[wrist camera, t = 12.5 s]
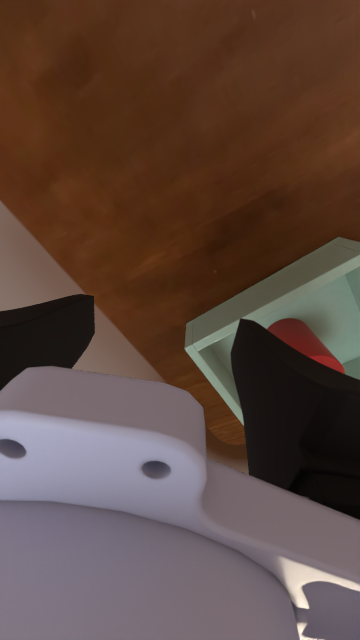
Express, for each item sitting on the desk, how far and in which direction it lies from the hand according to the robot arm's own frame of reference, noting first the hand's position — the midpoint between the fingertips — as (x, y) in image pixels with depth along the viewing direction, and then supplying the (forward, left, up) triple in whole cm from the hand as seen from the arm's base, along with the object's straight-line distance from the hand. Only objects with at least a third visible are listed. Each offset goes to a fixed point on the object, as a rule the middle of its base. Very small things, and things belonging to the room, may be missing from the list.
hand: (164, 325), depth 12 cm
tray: (+5, -11, -10) cm, 16 cm away
